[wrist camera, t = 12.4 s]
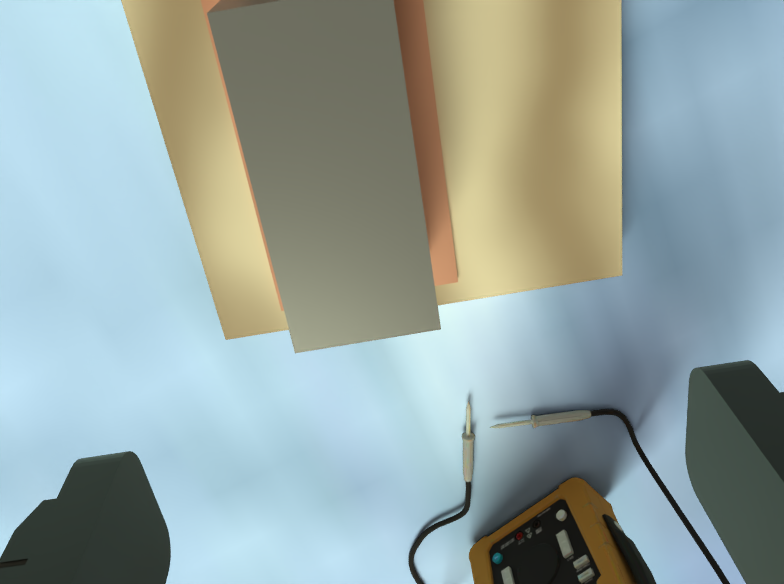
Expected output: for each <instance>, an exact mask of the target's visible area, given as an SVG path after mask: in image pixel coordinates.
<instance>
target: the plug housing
mask: <svg viewBox="0 0 784 584" xmlns="http://www.w3.org/2000/svg"><path fill="white" fill-rule="evenodd" d="M207 16H208V20H209V24H210V28H211V31H212V35H213V39H214V43H215V47H216V51H217V54H218V58H219V62H220V66H221V70H222V74H223V78H224V81H225V85H226V89H227V93H228V97H229V101H230V105H231V108H232V112H233V116H234V120H235V124H236V128H237V131H238V135H239V139H240V143H241V147H242V151H243V155H244V158H245V162H246V166H247V170H248V174H249V178H250V181H251V185H252V189H253V193H254V197H255V201H256V205H257V208H258V212H259V216H260V220H261V224H262V228H263V231H264V235H265V239H266V243H267V247H268V251H269V255H270V258H271V262H272V266H273V270H274V274H275V278H276V281H277V285H278V289H279V293H280V297H281V301H282V305H283V308H284V312H285V316H286V320H287V324H288V328H289V331H290V335H291V339H292V343H293V347H294V351H295V353H299V352H305V351H311V350H317V349H324V348H330V347H336V346H342V345H348V344H354V343H360V342H366V341H372V340H379V339H385V338H391V337H397V336H403V335H409V334H415V333H421V332H427V331H433V330H440V329H441V326H440V319H439V312H438V305H437V298H436V292H435V285H434V278H433V271H432V264H431V257H430V250H429V243H428V236H427V229H426V222H425V215H424V208H423V201H422V194H421V187H420V180H419V173H418V167H417V160H416V153H415V146H414V139H413V132H412V125H411V118H410V111H409V104H408V97H407V90H406V83H405V76H404V69H403V62H402V55H401V48H400V42H399V35H398V28H397V21H396V14H395V7H394V0H220V1H219V2H218V3H217V4H216V5H215V6H214V7H213V8H212V9H211V10H210V11H209V12H208V13H207Z"/></svg>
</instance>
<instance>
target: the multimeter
mask: <svg viewBox="0 0 784 584" xmlns="http://www.w3.org/2000/svg"><path fill="white" fill-rule="evenodd" d="M598 415H616V416H618V417H619V418H621V419H622V420H623V422H624V423H625V425H626V427H627V429H628V432H629V434H630V437H631V440H632V442H633V444H634V446H635V448H636V450H637V452H638V454H639V455H640V457H641V459H642V460H643V462H644V464H645V465H646V467H647V468H648V470H649V472H650V473H651V475H652V476H653V478H654V479H655V481H656V482H657V484H658V486H659V487H660V489H661V490H662V492H663V493H664V495H665V496H666V498H667V499H668V501H669V502H670V504H671V505H672V507H673V508H674V510H675V511H676V513H677V514H678V516H679V517H680V519H681V520H682V522H683V523H684V525H685V526H686V528H687V530H688V531H689V533H690V534H691V536H692V537H693V539H694V540H695V542H696V543H697V545H698V546H699V548H700V549H701V551H702V552H703V554H704V555H705V557H706V558H707V560H708V561H709V563H710V564H711V566H712V567H713V569H714V571H715V572H716V574H717V575H718V577H719V579H720V580H721V582H722V583H723V584H730V583H729V581H728V580H727V578H726V577H725V575H724V573H723V572H722V570H721V569H720V567H719V565H718V564H717V562H716V561H715V560H714V558H713V557H712V555H711V554H710V552H709V551H708V549H707V548H706V546H705V545H704V543H703V542H702V540H701V539H700V537H699V536H698V534H697V533H696V531H695V530H694V528H693V527H692V525H691V524H690V522H689V521H688V519H687V518H686V516H685V515H684V513H683V512H682V510H681V509H680V507H679V506H678V504H677V503H676V501H675V500H674V498H673V497H672V495H671V494H670V492H669V491H668V489H667V488H666V486H665V485H664V483H663V482H662V480H661V479H660V477H659V476H658V474H657V473H656V471H655V470H654V468H653V467H652V465H651V464H650V462H649V460H648V459H647V457H646V456H645V454H644V452H643V451H642V449H641V447H640V445H639V443H638V441H637V439H636V436H635V433H634V431H633V428H632V426H631V424H630V422H629V421H628V419H627V418H626V416H625V415H624V414H623V413H622V412H620V411H618V410H614V409H601V410H593V411H589V410H576V411H569V412H561V413H554V414H547V415H539V416H535V415H531V420H525V421H518V422H510V423H503V424H497V425H495V426H492V427H490V428H505V427H512V426H520V425H527V424H532V426H533V428H536V427H537V426H543V425H551V424H558V423H565V422H573V421H580V420H583V419H587V418H590V417H591V416H598ZM470 416H471V407H470V404H469V401H468V404H467V408H466V432H465V433H463V434H462V439H463V475H464V480H465V481H466V501H465V506H464V508H463V510H462V511H461V512H460V513H458V514H456V515H454V516H452V517H450V518H447V519H445V520H442V521H440V522H438V523H435V524H434V525H432V526H430V527H429V528H427V529H426V530H425V531H424V532H423V533H422V534H421V535H420V536H419V537H418V539H417V540H416V542H415V544H414V545H413V547H412V549H411V551H410V554H409V567H410V571H411V574H412V576H413V578H414V579H415V581H416V583H417V584H423V583H422V581H421V580H420V578H419V577H418V575H417V573H416V571H415V569H414V565H413V558H414V554H415V552H416V550H417V548H418V547H419V545H420V544H421V542H422V541H423V539H424V538H425V537H426V536H427V535H428V534H429V533H431V532H432V531H433V530H435V529H437V528H439V527H441V526H444V525H446V524H449V523H451V522H453V521H456V520H458V519H460V518H461V517H463V516H464V515H465V514H466V513H467V512H468V510H469V507H470V499H471V482H470V481H471V480H472V474H473V440H474V439H475V435H474V434H473V433H471V432H470ZM469 560H470V562H471V568H472V574H473V579H474V584H656V582H655V580H654V577H653V575H652V573H651V571H650V569H649V568H648V566H647V564H646V563H645V561H644V559H643V558H642V556H641V554H640V552H639V551H638V549H637V547H636V546H635V544H634V542H633V541H632V540H631V539H630V538H628V537H627V536H626V535H625V533H624V532H623V530H622V528H621V526H620V525H619V523H618V521H617V519H616V517H615V515H614V512H613V509H612V506H611V504H610V503H609V502H607V501H606V500H605V499H604V498H603V497H602V496H601V495H600V494H599V493H598V492H596V491H595V490H594V489H593V488H592V487H591V486H590V485H589V484H588V483H587V482H585V481H584V480H583V479H581V478H577V477H574V478H571V479H569V480H567V481H565V482H564V483H562V484H560V485H559V488H558V489H557V490H556V491H554V492H553V493H551V494H550V495H548V496H547V497H545V498H544V499H542V500H541V501H539V502H538V503H537V504H535V505H534V506H532V507H531V508H529V509H528V510H526V511H525V512H523V513H522V514H520V515H519V516H518V517H516V518H515V519H513V520H512V521H510V522H509V523H507V524H506V525H504V526H503V527H501V528H500V529H499V530H497V531H496V532H494V533H493V534H491V535H490V536H484V537H483V538H482V539H481V540H479V541H478V542H477V543H475V544H474V545H473V547H472V548H471V549H470V552H469Z"/></svg>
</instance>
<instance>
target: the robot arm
mask: <svg viewBox="0 0 784 584" xmlns="http://www.w3.org/2000/svg"><path fill="white" fill-rule="evenodd" d="M685 455H686V464H687V470H688V474H689V478H690V481H691V484H692V487H693V489H694V492H695V494H696V496H697V498H698V499H699V501H700V503H701V505H702V506H703V508H704V510H705V512H706V513H707V515H708V517H709V519H710V521H711V522H712V524H713V526H714V528H715V529H716V531H717V533H718V535H719V536H720V538H721V540H722V542H723V544H724V545H725V547H726V549H727V551H728V552H729V554H730V556H731V558H732V559H733V561H734V563H735V565H736V567H737V568H738V570H739V572H740V574H741V575H742V577H743V579H744V581H745V582H746V584H784V392H781V393H779V391H778V390H777V389H776V388H775V387H774V386H773V384H772V383H771V382H770V381H769V380H768V378H767V377H766V376H765V375H764V374H763V372H762V371H761V370H760V369H759V368H758V367H757V366H756V365H755V364H754V363H753V362H752V361H749V360H745V361H738V362H732V363H725V364H719V365H712V366H705V367H699V368H694V369H693V370H692V372H691V374H690V378H689V391H688V409H687V428H686V447H685ZM170 557H171V549H170V538H169V533H168V529H167V526H166V523H165V520H164V518H163V515H162V513H161V511H160V508H159V506H158V503H157V501H156V498H155V496H154V493H153V491H152V489H151V486H150V484H149V481H148V479H147V476H146V474H145V471H144V469H143V467H142V464H141V462H140V460H139V458H138V457H137V455H136V454H135V453H133V452H131V451H128V452H122V453H115V454H108V455H102V456H95V457H88V458H82V459H78V460H77V461H76V462H75V463H74V464H73V466H72V468H71V470H70V472H69V474H68V476H67V478H66V480H65V482H64V484H63V486H62V488H61V490H60V493H59V495H58V497H57V499H50V500H43V501H42V502H41V503H40V505H39V506H38V507H37V508H36V509H35V510H34V511H33V512H32V513H31V514H30V515H29V516H28V517H27V518H26V519H25V520H24V521H23V522H22V523H21V524H20V525H19V526H18V527H17V528H16V530H15V531H14V533H13V535H12V537H11V538H10V540H9V542H8V544H7V546H6V548H5V550H4V552H3V554H2V556H1V558H0V584H165V583H166V579H167V576H168V572H169V567H170Z"/></svg>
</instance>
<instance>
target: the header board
mask: <svg viewBox="0 0 784 584" xmlns="http://www.w3.org/2000/svg"><path fill="white" fill-rule="evenodd" d="M121 1H122V5H123V8H124V11H125V14H126V18H127V21H128V24H129V27H130V31H131V34H132V37H133V40H134V44H135V47H136V50H137V53H138V57H139V60H140V63H141V66H142V70H143V73H144V76H145V79H146V83H147V86H148V89H149V92H150V96H151V99H152V102H153V105H154V109H155V112H156V115H157V118H158V122H159V125H160V128H161V131H162V135H163V138H164V141H165V144H166V147H167V151H168V154H169V157H170V160H171V164H172V167H173V170H174V173H175V177H176V180H177V183H178V186H179V190H180V193H181V196H182V199H183V203H184V206H185V209H186V212H187V216H188V219H189V222H190V225H191V229H192V232H193V235H194V238H195V242H196V245H197V248H198V251H199V255H200V258H201V261H202V264H203V268H204V271H205V274H206V277H207V281H208V284H209V287H210V290H211V294H212V297H213V300H214V303H215V307H216V310H217V313H218V316H219V320H220V323H221V326H222V329H223V333H224V336H225V339H226V340H228V339H234V338H240V337H246V336H252V335H258V334H265V333H271V332H277V331H283V330H289V328H288V324H287V320H286V316H285V312H284V308H283V305H282V301H281V297H280V293H279V289H278V285H277V281H276V278H275V274H274V270H273V266H272V262H271V258H270V255H269V251H268V247H267V243H266V239H265V235H264V231H263V228H262V224H261V220H260V216H259V212H258V208H257V205H256V201H255V197H254V193H253V189H252V185H251V181H250V178H249V174H248V170H247V166H246V162H245V158H244V155H243V151H242V147H241V143H240V139H239V135H238V131H237V128H236V124H235V120H234V116H233V112H232V108H231V105H230V101H229V97H228V93H227V89H226V85H225V81H224V78H223V74H222V70H221V66H220V62H219V58H218V54H217V51H216V47H215V43H214V39H213V35H212V31H211V28H210V24H209V20H208V16H207V13H208V12H209V11H210V10H211V9H212V8H213V7H214V6H215V5H216V4H217V3H218V2H219V1H220V0H121ZM394 7H395V14H396V21H397V28H398V35H399V42H400V48H401V55H402V62H403V69H404V76H405V83H406V90H407V97H408V104H409V111H410V118H411V125H412V132H413V139H414V146H415V153H416V160H417V167H418V173H419V180H420V187H421V194H422V201H423V208H424V215H425V222H426V229H427V236H428V243H429V250H430V257H431V264H432V271H433V278H434V285H435V292H436V298H437V305H443V304H449V303H455V302H461V301H468V300H474V299H480V298H486V297H492V296H498V295H504V294H511V293H517V292H523V291H529V290H535V289H541V288H547V287H554V286H560V285H566V284H572V283H578V282H584V281H591V280H597V279H603V278H609V277H615V276H621V275H622V64H621V0H394Z"/></svg>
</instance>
